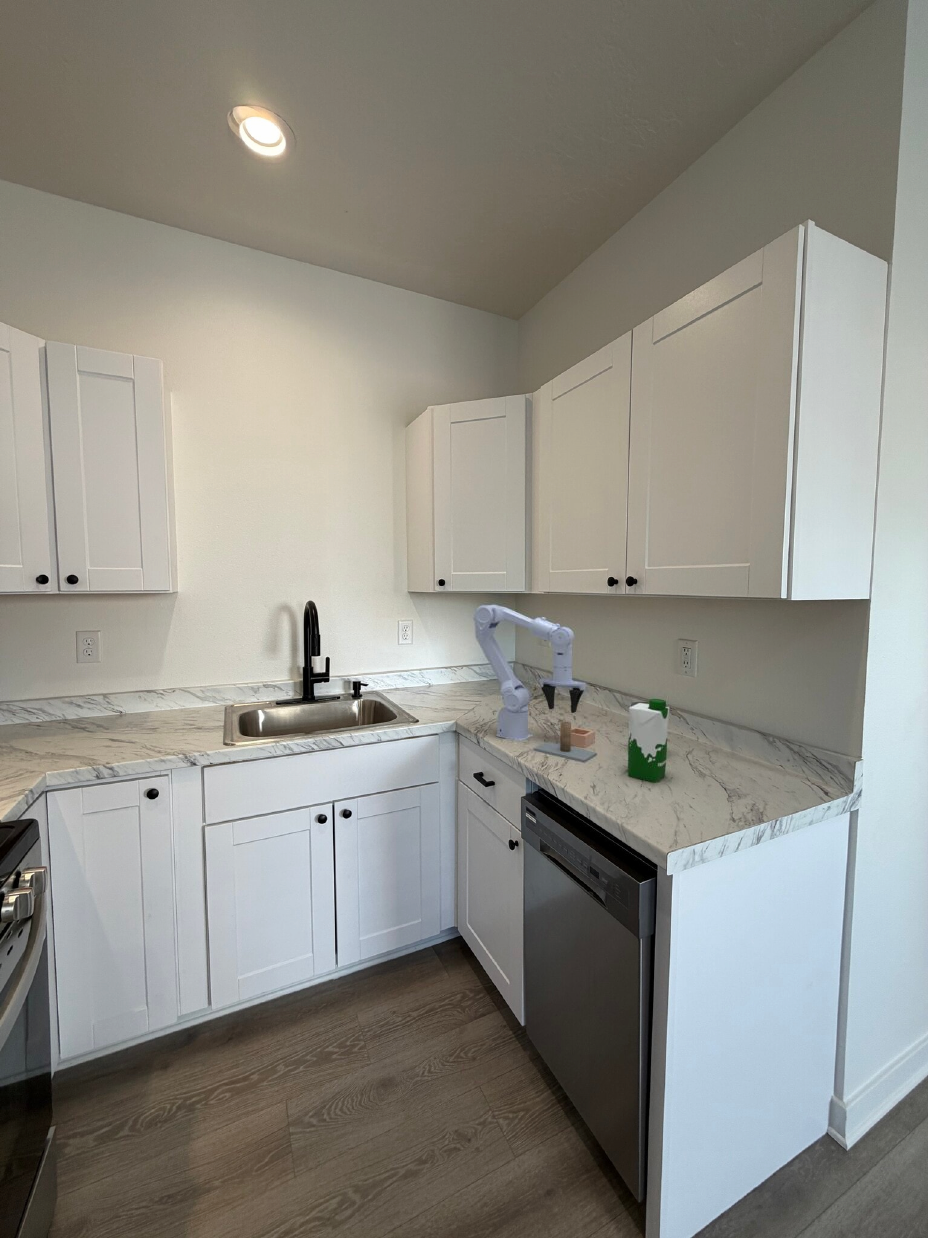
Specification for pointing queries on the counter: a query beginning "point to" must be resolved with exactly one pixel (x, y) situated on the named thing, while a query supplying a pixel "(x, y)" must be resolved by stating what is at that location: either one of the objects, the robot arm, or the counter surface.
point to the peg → (565, 737)
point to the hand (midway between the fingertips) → (562, 710)
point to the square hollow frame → (582, 737)
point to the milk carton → (648, 740)
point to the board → (573, 754)
